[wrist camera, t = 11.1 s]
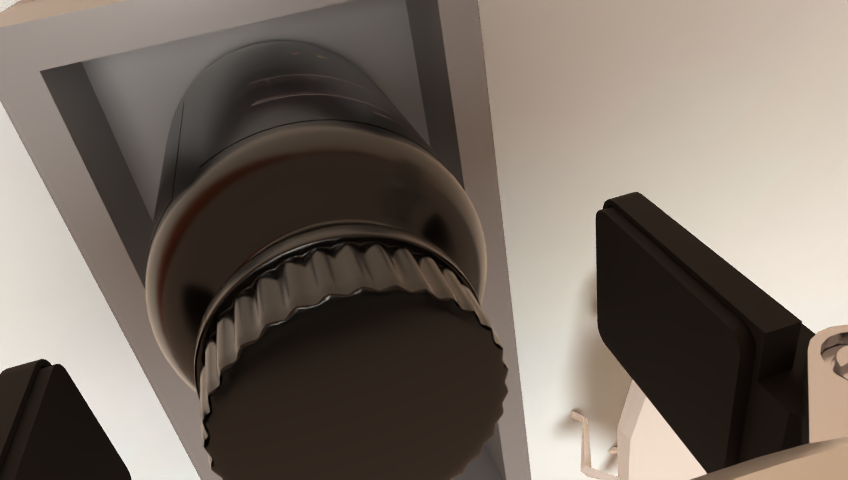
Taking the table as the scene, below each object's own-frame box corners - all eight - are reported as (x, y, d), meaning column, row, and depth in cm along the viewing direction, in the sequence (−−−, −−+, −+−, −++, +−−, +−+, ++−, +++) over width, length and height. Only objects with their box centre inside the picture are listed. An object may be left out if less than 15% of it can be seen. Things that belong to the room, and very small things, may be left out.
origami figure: (727, 381, 33) (800, 453, 29) (595, 473, 34) (647, 556, 30) (645, 229, 27) (723, 292, 23) (484, 346, 28) (531, 428, 23)
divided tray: (418, -84, 19) (469, -74, 15) (492, 418, 30) (533, 497, 26) (21, -1, 17) (-35, 34, 13) (256, 499, 28) (262, 595, 24)
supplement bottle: (368, 255, 22) (491, 563, 12) (158, 232, 20) (97, 594, 10) (420, 60, 20) (633, 254, 10) (182, 6, 17) (133, 189, 7)
